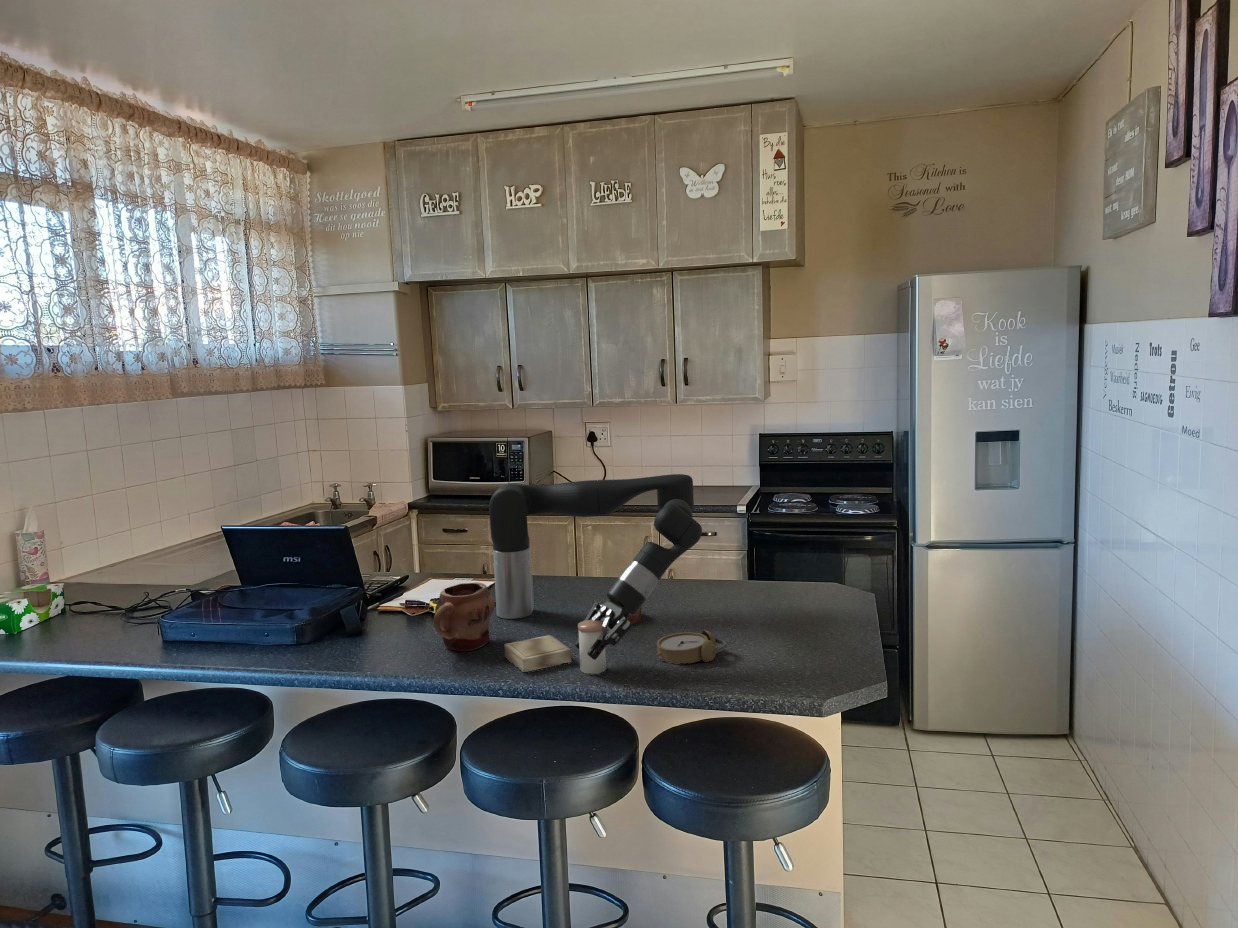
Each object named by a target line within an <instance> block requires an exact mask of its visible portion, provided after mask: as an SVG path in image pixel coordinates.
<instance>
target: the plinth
mask: <svg viewBox="0 0 1238 928" xmlns="http://www.w3.org/2000/svg"><path fill="white" fill-rule="evenodd" d="M505 657H506V658H507V659H506V658H505ZM504 658H505V659H506V660H507V661H508V662H510V663H511V664H512V663H513V664H514V665H515V666H514V667H516V668H517V667H518V668H519V669H520V670H521V671H522V672H528V671H532V670H536V669H540V668H544V667H548V666H553V665H558V664H561V663H567V662H571V663H572V650H571V648H569V647H568V646H567V645H565V644H564V643H562V642H561V641H560V640H558V639H557V638H556V637H554V636H553V635H551V634H547V635H542V636H538V637H532V638H528V639H523V640H519V641H514V642H508V643H504ZM513 664H512V665H513ZM518 668H517V669H518ZM519 669H518V670H519ZM520 670H519V671H520ZM521 671H520V672H521ZM522 672H521V673H522ZM532 672H533V671H532ZM528 673H529V672H528Z"/></svg>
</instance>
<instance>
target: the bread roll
mask: <svg viewBox="0 0 1238 928" xmlns="http://www.w3.org/2000/svg"><path fill="white" fill-rule="evenodd" d="M607 601H608V599H607V600H606V601H605V602H604V603H606V602H607ZM641 617H642V606H641V607H640V609H639V610H638V611H637V613H636V614H635V615H630V614H629V615H628V618H627V620H628V621H629V622H630V623H632V625H634V624H637V623H639V622H640V621H641V619H642V618H641Z"/></svg>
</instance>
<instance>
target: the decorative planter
mask: <svg viewBox="0 0 1238 928" xmlns="http://www.w3.org/2000/svg"><path fill="white" fill-rule="evenodd" d="M495 607H496V600H495V598H494V597H493V596H492V594H491V593H490V591H489V588H488V586H487V585H486V584H484V583H482V582H479V581H478V582H463V583H458V584H456V585H452V586H449V587H445V588H443V589H442V590H441V592H440V593H439V598H438V600H437V603H436V605H435V608H434V609H435V610H434V617H433V627H434V629H435V632H437V634H438V636H440V637H441V638H442V640H443V644H444V645H445V648H447V649H448V650H452V651H461V652H466V651H467V652H468V651H469V652H470V651H473V650H476V649H479V648H481V647H483V646H485V645H486V644H487V643H489V642H490V630H489V629H490V628H489V626H490V625H489V622H490V619H491V617H492V615H493V613H494V611H495Z"/></svg>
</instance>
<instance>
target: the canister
mask: <svg viewBox="0 0 1238 928" xmlns="http://www.w3.org/2000/svg"><path fill="white" fill-rule="evenodd" d="M602 625H603V622H601V621H599V620H591V619H590V620H586V621H584V620H582V621H580V622H579V623H577V630H578V639H579V649H578V650H579V651H578V652H579V668H580V669H579V671H580V670H581V671H582V672H584V673H599V672H602V671H605V669H606V670H607V662H606V647H605V648H604V650H603V651H602V652H601V654H600V655H599V656H598V657H597V659H595V660H594V659H592V658H591V657H590V656H589V655H588V654H587V653H588V651H589V650H590V648H591V647H592V646H593V644H594V643H595V642H596V641H597V639H598V640H599V636H600V634H601V632H602V630H603V629H602V628H603V626H602ZM605 672H606V671H605Z"/></svg>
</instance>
